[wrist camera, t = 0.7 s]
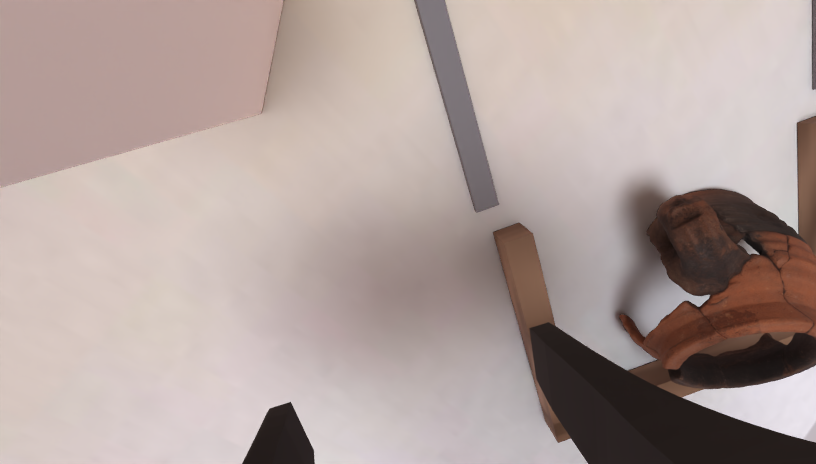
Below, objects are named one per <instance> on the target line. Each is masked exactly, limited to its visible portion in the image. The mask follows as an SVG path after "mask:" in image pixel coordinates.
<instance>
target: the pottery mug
mask: <svg viewBox="0 0 816 464" xmlns="http://www.w3.org/2000/svg"><path fill="white" fill-rule="evenodd" d="M647 235H649V236H650V241H651V242H652V243H653V244H654V246H655V247H656V248H657V250H658V251H659V252H660V254H661V261H662V263H663V265H664V266H665V268H666V270H667V274H668V276H669V278H670V279H671V280H672V281H673V282H675V283H676V284H677V285H679V286H680V287H681V288H683V290H685V291H686V292H688V293H690V294H692V295H695V296H704V295H708V294H709V295H710V298H709V299H708V300H707V301H706V302H705V303H703V304H702V305H701V306H700V307H697V306H696V305H694V304H692V303H691V302H689V301H684V302H682V303H681V304H680V305H679V306H678V307H677V308H676V309H675V310H673V311H672V312H671V313H670V314H669V315H667V316H665V317H664V318H663V319H662V320H661V321H660V323H659V324H658V326H657V327H656V328H655V329H654V330H652V331H651V332H650V333H649V334H648V335H647V336H646V338H645V337H644V336H642V334H641V333H640V332H639V330H638V328H637V327H636V325H635V323H634V322H633V320H632V319H631V318H630V317H629V316H627V315H623V314H621V315H620V316H619V318H620V320H621V321H622V323H623V326H624V328H625V329H626V331H627V332H628V333H629V334H630V337H631V338H632V340H633V341H634V342H635V343H636V344H638V345H639V346H640V347H642V348H643V349H644V350H645V351H646V352H647V353H649V354H650V355H651V356H652V357H654V358H656V359H658V360H660V361H662V367H663V368H664V369H667V370H668V373H669V376H670V379H671V381H672V382H674V383H676V384H679V385H682V386H686V387H691V388H700V389H720V388H736V387H737V388H740V387H745V386H751V385H758V384H763V383H767V382H771V381H776V380H780V379H783V378H786V377H789V376H792V375H794V374H797V373H800V372H803V371H805V370H807V369H809V368H811V367H814V366H815V365H816V256H815V255H814V254H813V251H812V250H811V248H810V246H809V245H808V244H807V243H806V241H805V240H804V239H803V238H802V237H801V236H799V235H798V234H797V232H796V231H795V230H794V229H793V228H792V227H790V226H787V224H786V223H785V222H784V221H782V220H780V219H779V218H778V216H776V215H775V214H774V213H771V212H769V211H767V210H766V209H764V208H762V207H760V206H758V205H757V204H755V203H753V201H752V200H750V199H749V198H748V197H746V196H744V195H742V194H739V193H737V192H733V191H727V190H721V189H709V190H705V191H696V192H691V193H687V194H684V195H677V196H674V197H672V198H670V199H669V200H667V201H666V202H664V203H662V204H661V205H660V207H659V209H658V211H657V218H656V219H655V220H654V221H653V222H652V223H651V225H650V226H649V228H648V230H647ZM741 239H743V240H745V242H746V243H748V244H749V245H750V246H751V247H752V248H753V249H754V250H756V251H757V252H758V253H759V254H760V255H758V254H751V255H749V254H748V253H747V251H746V250H745V249H744V248H743V247H741V246H739V245H737V243H738V242H739V241H740V240H741ZM771 332H796V333H795V334H794V336H793V338H792V340H791V342H790V343H789V344H788V345H785V344H783V343H781V342H779V341H777V340H775V339H774V338H772V336H771V335H770V334H769V333H771ZM762 333H765V334H763V335H762V336H761V338H760V339H759V341H758V342H757V343H756V344H754V345H752V346H749V347H748V348H745V349H740V350H734V351H726V352H723V353H721V354H719V355H717V356H712V355H709V354H704V353H697V352H699V351H701V350H702V349H704V348H707V347H709V346H712V345H715V344H717V343H719V342H722V341H725V340H726V339H729V338H737V337H742V336H747V335H754V334H762Z"/></svg>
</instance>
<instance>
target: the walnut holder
mask: <svg viewBox="0 0 816 464" xmlns="http://www.w3.org/2000/svg"><path fill="white" fill-rule="evenodd" d="M798 194H799V236H801V237H802V238H803V239H804V240H805V241H806V243H807V244H808V245H809V246H810V248H811V250H812V251H813V254H814V255H815V256H816V116H815V117H812V118H809V119H807V120H804V121H801V122H798ZM493 235H494V238H495V242H496V245H497V249H498V253H499V256H500V260H501V263H502V267H503V271H504V274H505V278H506V281H507V285H508V289H509V292H510V296H511V299H512V303H513V306H514V310H515V314H516V317H517V321H518V324H519V328H520V332H521V335H522V339H523V342H524V346H525V350H526V353H527V357H528V360H529V364H530V368H531V371H532V375H533V378H534V382H535V386H536V389H537V393H538V396H539V400H540V404H541V407H542V411H543V414H544V418H545V421H546V423H547V425H548V426H549V428H550V430H551V432H552V433H553V435H554V437H555V438H556V440H557V442H558V443H559V442H562V441H565V440H567V439H570V438H571V437H570V436H569V434H568V433H567V431H566V430H565V428H564V427H563V426H562V424H561V423H560V421H559V420H558V418H557V417H556V415H555V414H554V412H553V411H552V409H551V407H550V405H549V403H548V401H547V399H546V397H545V396H544V394H543V392H542V390H541V388H540V386H539V384H538V382H537V380H536V374H535V367H534V359H533V352H532V344H531V337H530V329H529V328H531V327H535V326H538V325H541V324H544V323H547V322H549V323H551V324H553V325H554V326H555V323H554V318H553V314H552V310H551V306H550V302H549V298H548V294H547V290H546V286H545V282H544V277H543V273H542V269H541V265H540V261H539V257H538V253H537V249H536V245H535V241H534V236H533V233H532V232H530V231H529V230H528V229H527V228H525V227H524V226H523V225H522V224H520V223H517V224H514V225H512V226H509V227H506V228H503V229H501V230H498V231H495V232H493ZM795 333H796V332H771V333H769V334H770V335H771V336H772V338H774V339H775V340H777V341H779V342H781V343H783V344H785V345H788V344H789V343H790V342H791V340H792V338H793V336H794V334H795ZM763 334H765V333H762V334H754V335H747V336H742V337H737V338H729V339H726V340H725V341H722V342H719V343H717V344H715V345H712V346H709V347H707V348H704V349H702V350H701V351H699V352H697V353H704V354H709V355H712V356H717V355H719V354H721V353H723V352H726V351H734V350H740V349H745V348H748V347H749V346H752V345H754V344H756V343H757V342H758V341H759V339H760V338H761V336H762V335H763ZM629 372H630V373H632V374H634V375H636V376H638V377H640V378H642V379H643V380H645V381H647V382H649V383H651V384H653V385H655V386H657V387H659V388H662V389H664V390H666V391H668V392H670V393H673V394H675V395H677V396H679V397H684V396H686V395H689V394H692V393H695V392H697V391H700V390H703V389H700V388H691V387H686V386H682V385H679V384H676V383H674V382H672V381H671V379H670V376H669V373H668V370H667V369H664V368H663V367H662V361H660V360H657V361H654V362H651V363H649V364H646V365H643V366H641V367H638V368H635V369H632V370H630V371H629Z"/></svg>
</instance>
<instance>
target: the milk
mask: <svg viewBox="0 0 816 464" xmlns="http://www.w3.org/2000/svg"><path fill="white" fill-rule="evenodd" d="M283 1H284V0H0V188H1V187H4V186H8V185H11V184H15V183H18V182H22V181H25V180H29V179H32V178H36V177H39V176H43V175H47V174H50V173H54V172H57V171H61V170H64V169H68V168H71V167H75V166H78V165H82V164H85V163H89V162H92V161H96V160H100V159H103V158H107V157H110V156H114V155H117V154H121V153H124V152H128V151H131V150H135V149H138V148H142V147H145V146H149V145H153V144H156V143H160V142H163V141H167V140H170V139H174V138H177V137H181V136H184V135H188V134H191V133H195V132H198V131H202V130H206V129H209V128H213V127H216V126H220V125H223V124H227V123H230V122H234V121H237V120H241V119H244V118H248V117H251V116H255V115H259V114H261V112H262V108H263V103H264V98H265V93H266V88H267V83H268V78H269V73H270V68H271V63H272V57H273V52H274V47H275V42H276V37H277V32H278V27H279V22H280V17H281V12H282V7H283Z"/></svg>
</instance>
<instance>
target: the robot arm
mask: <svg viewBox="0 0 816 464" xmlns="http://www.w3.org/2000/svg"><path fill="white" fill-rule="evenodd" d="M529 329H530V337H531V344H532V352H533V359H534V367H535V374H536V380H537V382H538V384H539V386H540V388H541V390H542V392H543V394H544V396H545V397H546V399H547V401H548V403H549V405H550V407H551V409H552V411H553V412H554V414H555V415H556V417H557V418H558V420H559V421H560V423H561V424H562V426H563V427H564V428H565V430H566V431H567V433H568V434H569V436H570V437H571V439H572V440H573V442H574V443H575V445H576V446H577V448H578V449H579V451H580V452H581V454H582V455H583V456H584V458H585V459H586V461H587V462H588V464H816V443H815V442H811V441H807V440H803V439H800V438H796V437H792V436H788V435H785V434H782V433H778V432H775V431H772V430H769V429H766V428H762V427H759V426H756V425H753V424H750V423H747V422H744V421H741V420H738V419H735V418H732V417H730V416H727V415H724V414H722V413H719V412H716V411H714V410H711V409H708V408H706V407H703V406H701V405H698V404H696V403H693V402H691V401H688V400H686V399H684V398H682V397H679V396H677V395H675V394H673V393H670V392H668V391H666V390H664V389H662V388H659V387H657V386H655V385H653V384H651V383H649V382H647V381H645V380H643V379H642V378H640V377H638V376H636V375H634V374H632V373H630V372H629V371H627V370H625V369H623V368H621V367H620V366H618V365H616V364H614V363H613V362H611V361H609V360H608V359H606V358H604V357H603V356H601V355H599V354H598V353H596V352H594V351H593V350H591V349H590V348H588V347H587V346H585V345H583V344H582V343H580V342H579V341H577V340H576V339H574V338H573V337H571V336H570V335H568V334H567V333H565V332H564V331H562V330H561V329H559V328H558V327H556V326H554V325H553V324H551V323H549V322H547V323H544V324H541V325H538V326H535V327H531V328H529ZM242 464H315V462H314V450H313V448H312V446H311V444H310V442H309V439H308V437H307V435H306V433H305V431H304V429H303V427H302V425H301V423H300V421H299V418H298V416H297V414H296V412H295V410H294V408H293V406H292V404H291V402H289V403H286V404H283V405H280V406H276V407H273V408H270V409H269V411H268V412H267V414H266V416H265V418H264V420H263V423H262V425H261V427H260V429H259V431H258V433H257V435H256V437H255V439H254V441H253V443H252V445H251V447H250V449H249V451H248V453H247V455H246V457H245V459H244V461H243V463H242Z"/></svg>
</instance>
